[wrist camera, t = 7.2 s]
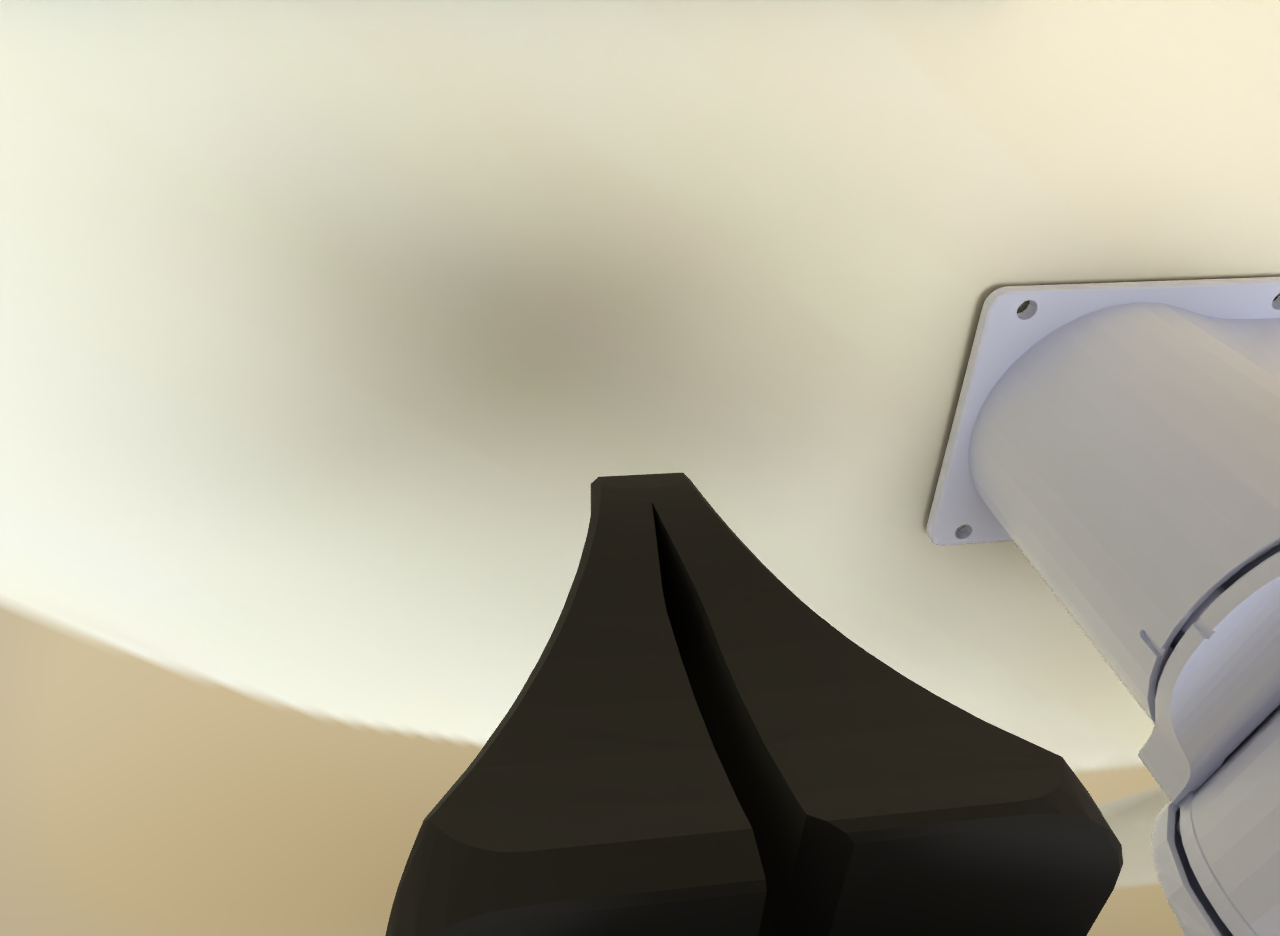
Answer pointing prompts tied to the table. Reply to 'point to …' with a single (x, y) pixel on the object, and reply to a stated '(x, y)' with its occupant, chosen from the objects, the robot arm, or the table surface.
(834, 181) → the table surface
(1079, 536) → the robot arm
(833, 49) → the table surface
